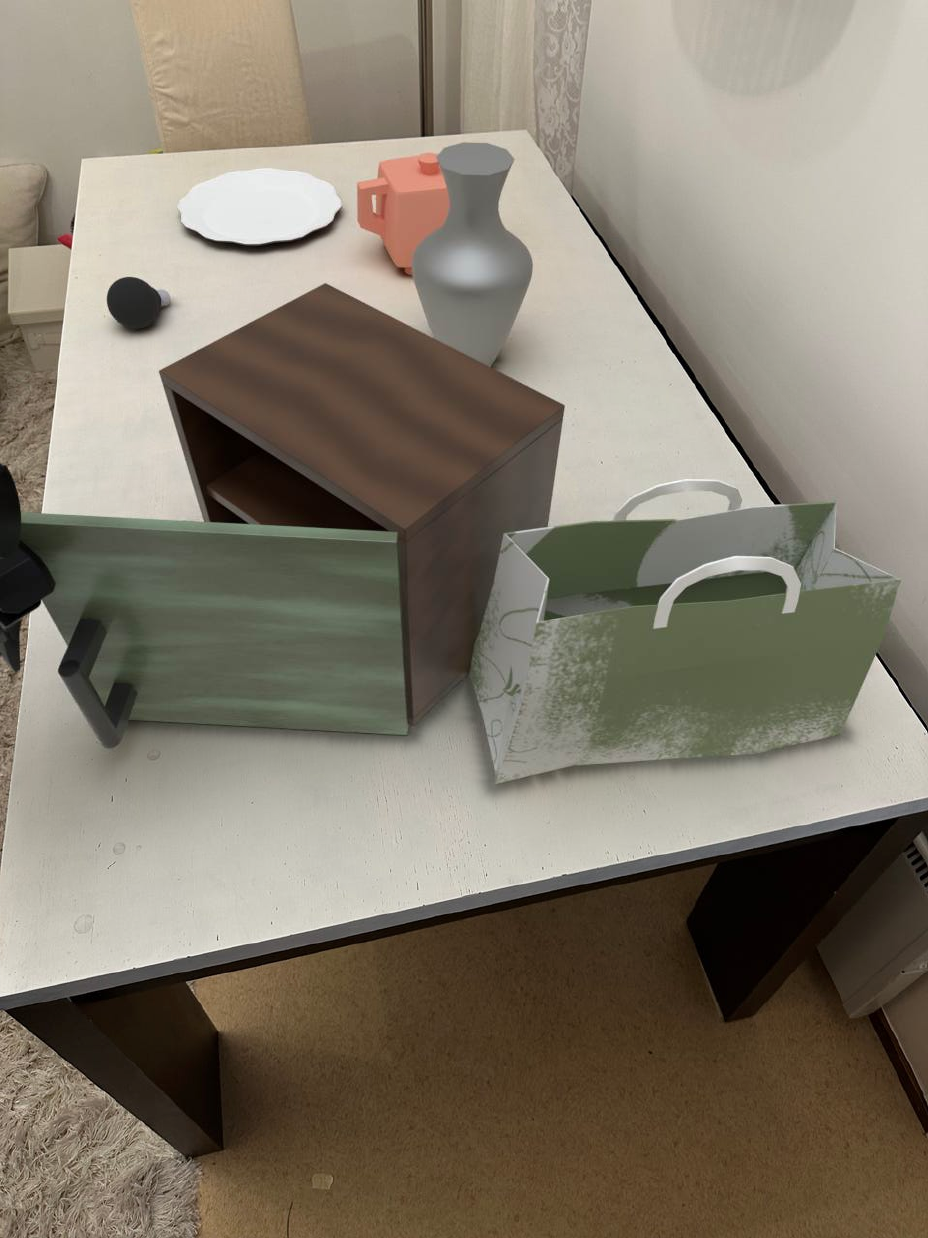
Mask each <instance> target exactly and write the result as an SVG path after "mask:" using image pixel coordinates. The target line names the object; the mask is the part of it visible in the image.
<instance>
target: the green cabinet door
mask: <svg viewBox="0 0 928 1238" xmlns="http://www.w3.org/2000/svg"><path fill="white" fill-rule="evenodd" d="M20 540H21V541H22V542H23V543H24V544H25V545H26V546H28V547H29V548H30V549H31V550H32V551H33V552H34V553H36V554H37V555H38V556H39V557H40V558H41V560H42V561H43V562H44V563H45V565H46V566H47V567H48V569H49V571H50V573H51V575H52V576H53V578H54V580H55V582H56V585H55V588H54V591H53V592H52V593H51V594H49V595H48V596H46V597H44V598H43V599H41V603H43V605H44V606H45V609H46V610H47V613H48V614H49V616H50V618H51V619H52V621H53V623H54V625H55V627H56V628H57V630H58V632H59V634H60V635H61V637H62V639H63V642H65V644H66V646H67V647H66V650H65V651H64V655H63V656H62V658H61V661H60V663H59V665H58V669H57V673H58V676H59V677H60V678H61V680H62V681H63V684H64V685H65V687H66V688H67V690H68V692H69V693H70V695H71V697H72V698H73V700H74V701H75V703H76V705H77V707H78V708H79V710H80V712H81V713H82V715H83V717H84V718H85V720H86V722H87V723H88V725H89V727H90V728H91V730H92V732H93V733H94V735H95V737H96V738H97V740H98V742H99V743H100V744H101V746H102V747H103V748H104V749H107V750H108V749H109V750H111V749H114V748H116V747H117V746H119V745H120V743H121V741H122V739H123V737H124V734H125V731H126V728H127V725H128V722H129V721H145V722H146V721H148V722H162V723H163V722H164V723H181V724H182V723H184V724H199V725H201V724H202V725H216V726H217V725H219V726H221V725H222V726H238V727H254V728H271V729H272V728H273V729H290V730H291V729H292V730H306V731H307V730H308V731H325V732H344V733H362V734H380V735H396V736H397V735H398V736H408V731H409V722H408V712H407V693H406V674H405V655H404V636H403V618H402V599H401V580H400V561H399V542H398V532H387V531H368V530H349V529H330V528H311V527H292V526H273V525H254V524H235V523H216V522H204V521H197V520H178V519H177V520H175V519H156V518H139V517H138V518H136V517H119V516H103V515H102V516H100V515H99V516H98V515H84V514H83V515H80V514H63V513H61V514H60V513H44V512H43V513H41V512H22V511H21V534H20Z"/></svg>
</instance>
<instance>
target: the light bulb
mask: <svg viewBox="0 0 928 1238" xmlns="http://www.w3.org/2000/svg"><path fill="white" fill-rule="evenodd" d="M171 300H172V299H171V294H170V293H169V291H167V290H166V289H155V288H154V287H153V286H151V284H149V283H148V282H147V281H145V280H143V279H141V278H139V277H135V276H124V277H121V278H118V279H116V280H115V281H114V282H113V283H112V284H110V287H108V291H107V294H106V306H107V309H108V312H109V313H110V315H111V317H112V318H113V319H114V320H115V321H116V322H117V323H119V324H120V325H122V326H123V327H125V328H129V329H134V330H138V329H139V330H140V329H145V328H146V327H149V326H150V325H151V324H153V322H154V321H155V320H156V318H157V317H158V314H159V311H160V310H161V308H163V307H167V306H169V305H170V304H171Z"/></svg>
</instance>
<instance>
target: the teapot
mask: <svg viewBox="0 0 928 1238" xmlns="http://www.w3.org/2000/svg"><path fill="white" fill-rule="evenodd" d="M438 154H439V153H435V152H423V153H420V154H419V155H412V156H406V157H398V158H392V159H386V160H381V161H380V162H379V163H378V169H377V176H376V177H377V178H372V179H368V180H361V181H357V182H356V191H357V192H356V201H357V202H356V203H357V204H356V205H357V206H356V207H357V208H356V210H357V212H356V213H357V214H356V215H357V219H356V220H357V222H358V225H359V227H360V228H361V229H363V230H365V231H367V232H370V233H373V234H376V235H377V236H379V237H380V239H381V241H382V243H383V245H384V247H385V250H386V251H387V253H388V255H389V256H390V258H391V260H392V262H393V263H394V265H395V266H396V267H397V268H404V272H405V274H407V275H409V276H413V274H412V263H411V262H412V257H413V253H414V251H415V249H416V248H417V246H418V244H419V243H420V242H421V241H422V240H423V239H424V238H425V237H426V236H428V235H429V234H430V233H432V232H433V231H435V230H437V229H438V228H440V227H441V226H442V225H443V224H444V222H445V220H446V218H447V215H448V212H449V195H448V190H447V187H446V183H445V180H444V177H443V174H442V171H441V168H440V166H439V163H438V161H437V158H436V157H437V156H438ZM373 196H375V212H374V204H373Z"/></svg>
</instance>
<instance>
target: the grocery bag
mask: <svg viewBox="0 0 928 1238" xmlns="http://www.w3.org/2000/svg"><path fill="white" fill-rule="evenodd" d="M682 492H711V493H715V494H718V495H721V496H724V497H726V498H727V499H728V501H729V504H728V507H727V510H722V511H716V512H710V513H709V512H708V513H703V514H699V515H692V516H687V517H680V518H663V519H662V518H659V519H658V518H657V519H627V518H628V516H629V515H630V514H631V513H632V512H633V511H634V510H635V509H636V508H637V507H638V506H640V505H641V504H644V503H646V502H649V501H652V500H654V499H656V498H659V497H660V496H667V495H671V494H677V493H682ZM742 502H743V497H742V496H741V493H740V491H739V489H738V487H736V486H734V485H731V484H729V483H727V482H724V481H722V480H720V479H706V478H705V479H704V478H701V479H700V478H683V479H678V480H674V481H669V482H664V483H660V484H656V485H654V486H652V487H650V488H648V489H645V490H643V491H641V492H639V493H636V494H635V495H633V496H630V497H629V498H628V499H627V500H626V501H625V502H624V503H623V504H622V505H621V506H620V508H619V509H617V510H616V511H615V513H614V515H613V518H612V520H590V521H582V522H575V523H567V524H561V525H560V524H559V525H554V526H553V525H552V526H548V527H545V528H538V529H530V530H523V531H516V532H509V533H504V534H503V539H502V544H501V549H500V554H499V559H498V563H497V568H496V573H495V578H494V583H493V587H492V590H491V594H490V597H489V600H488V604H487V607H486V611H485V614H484V618H483V621H482V625H481V628H480V632H479V634H478V636H477V638H476V641H475V643H474V649H473V655H472V661H471V667H470V673H469V674H468V675H469V677H470V680H471V684H472V686H473V689H474V693H475V696H476V699H477V702H478V706H479V709H480V712H481V715H482V718H483V722H484V727H485V732H486V736H487V737H486V738H487V741H488V746H489V750H490V755H491V759H492V765H493V768H494V769H493V770H494V773H495V776H494V785H498V784H503V783H507V782H510V781H511V782H512V781H515V780H518V779H522V778H528V777H531V776H536V775H540V774H544V773H549V772H552V771H557V770H560V769H565V768H569V767H572V766H573V767H574V766H586V765H587V766H588V765H601V764H616V763H629V762H630V763H631V762H645V761H660V760H670V759H688V758H689V759H690V758H704V757H721V756H723V757H724V756H737V755H738V756H739V755H755V754H761V753H764V752H769V751H773V750H778V749H782V748H787V747H792V746H795V745H800V744H804V743H808V742H809V743H810V742H813V741H817V740H822V739H825V738H830V737H836V736H839V735H841V733H842V732H843V729H844V726H845V725H846V723H847V720H848V719H849V716H850V714H851V711H852V709H853V707H854V704H855V703H856V701H857V699H858V696H859V693H860V692H861V689H862V687H863V685H864V682H865V681H866V678H867V675H868V673H869V671H870V669H871V667H872V665H873V662H874V660H875V658H876V655H877V653H878V652H879V651H878V650H879V648H880V647H881V644H882V642H883V640H884V638H885V634H886V631H887V627H888V624H889V621H890V617H891V614H892V611H893V608H894V605H895V601H896V599H897V595H898V592H899V589H900V585H901V582H902V579H900V578H899V577H896V576H895V575H893V574H890V573H888V572H887V571H884V570H882V569H880V568H877V567H876V566H873V565H872V564H869V563H868V562H865V561H863V560H861V559H859V558H857V557H855V556H853V555H851V554H849V553H847V552H844V551H842V550H840V549H838V548H836V524H837V523H836V521H837V518H836V517H837V501H835V500H834V501H821V502H820V501H819V502H817V501H816V502H801V503H784V504H783V503H782V504H770V505H769V504H767V505H752V506H746V507H742Z"/></svg>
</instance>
